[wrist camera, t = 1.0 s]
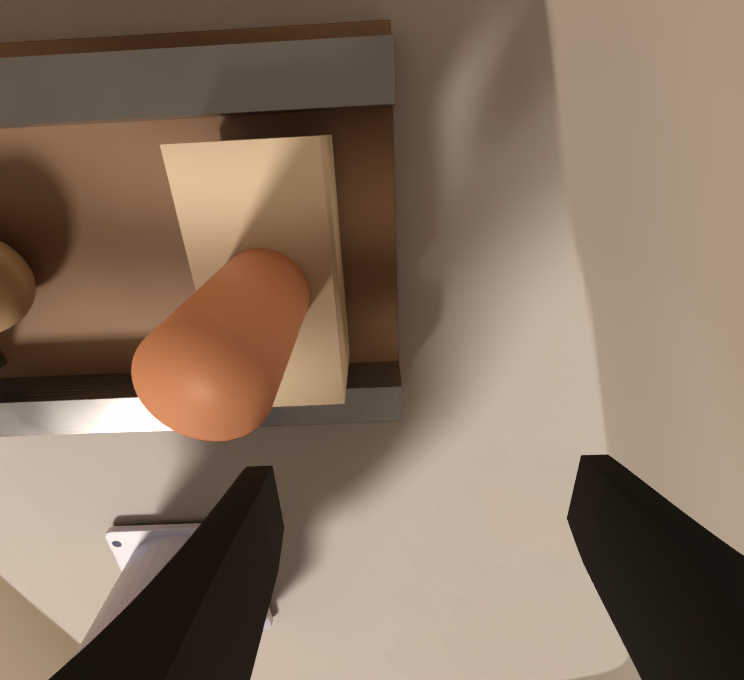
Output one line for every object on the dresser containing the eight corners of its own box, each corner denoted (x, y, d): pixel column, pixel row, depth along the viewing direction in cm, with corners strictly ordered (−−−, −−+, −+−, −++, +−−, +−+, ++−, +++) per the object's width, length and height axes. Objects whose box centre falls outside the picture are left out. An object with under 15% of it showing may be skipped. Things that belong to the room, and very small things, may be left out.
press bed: (398, 391, 20) (406, 470, 15) (-18, 408, 20) (-133, 490, 16) (388, 28, 14) (398, -24, 9) (-209, 64, 14) (-492, 31, 10)
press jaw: (349, 352, 17) (332, 532, 10) (252, 356, 17) (156, 538, 10) (331, 134, 14) (280, 140, 6) (209, 141, 14) (3, 155, 6)
